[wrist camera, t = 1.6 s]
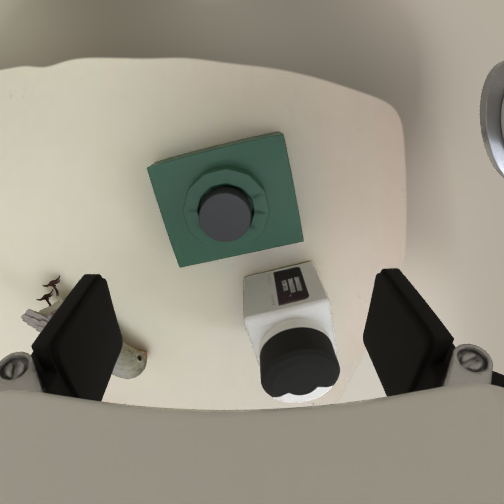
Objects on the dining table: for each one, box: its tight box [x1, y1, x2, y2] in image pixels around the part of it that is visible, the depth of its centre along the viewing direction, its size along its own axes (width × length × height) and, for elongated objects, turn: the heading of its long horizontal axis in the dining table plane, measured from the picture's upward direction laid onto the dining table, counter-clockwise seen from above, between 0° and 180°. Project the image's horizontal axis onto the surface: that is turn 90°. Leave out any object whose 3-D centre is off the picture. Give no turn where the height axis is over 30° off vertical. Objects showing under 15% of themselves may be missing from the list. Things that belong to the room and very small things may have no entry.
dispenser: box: [147, 132, 304, 267], centre depth 28 cm, size 12×10×5 cm
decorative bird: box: [21, 276, 147, 379], centre depth 33 cm, size 5×16×8 cm, turn 48°
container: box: [243, 261, 340, 403], centre depth 30 cm, size 8×8×13 cm
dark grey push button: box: [199, 187, 251, 242], centre depth 25 cm, size 4×4×2 cm
